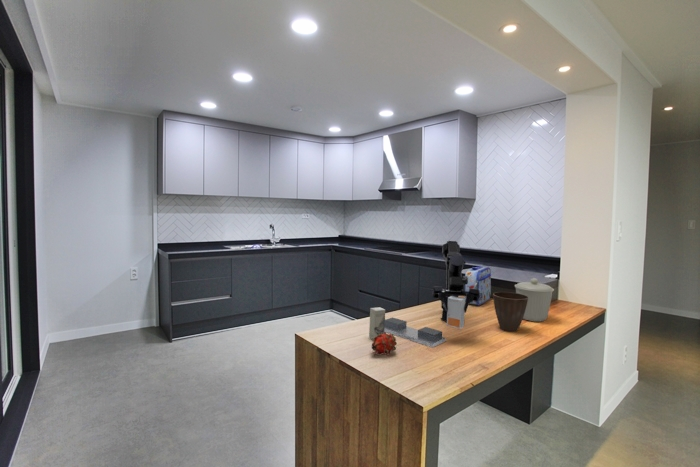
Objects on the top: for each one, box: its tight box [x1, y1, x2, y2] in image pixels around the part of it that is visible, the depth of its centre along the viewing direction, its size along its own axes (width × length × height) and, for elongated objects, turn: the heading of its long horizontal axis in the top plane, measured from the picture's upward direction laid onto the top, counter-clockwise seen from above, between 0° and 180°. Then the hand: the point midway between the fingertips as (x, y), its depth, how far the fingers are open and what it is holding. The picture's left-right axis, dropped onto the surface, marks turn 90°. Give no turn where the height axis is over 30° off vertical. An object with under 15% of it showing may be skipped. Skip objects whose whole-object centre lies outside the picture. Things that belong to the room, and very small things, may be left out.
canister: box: [514, 277, 555, 322], centre depth 183 cm, size 18×18×21 cm
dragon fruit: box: [370, 332, 398, 356], centre depth 135 cm, size 8×8×12 cm
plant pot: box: [492, 291, 528, 333], centre depth 166 cm, size 15×15×16 cm
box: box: [368, 307, 386, 341], centre depth 150 cm, size 5×4×13 cm
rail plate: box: [384, 317, 447, 348], centre depth 155 cm, size 10×27×4 cm, turn 45°
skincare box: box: [446, 296, 465, 330], centre depth 147 cm, size 6×4×12 cm
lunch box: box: [464, 266, 492, 306], centre depth 215 cm, size 28×10×22 cm, turn 145°
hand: (456, 311), depth 146 cm, fingers closed on skincare box, 7 cm apart
